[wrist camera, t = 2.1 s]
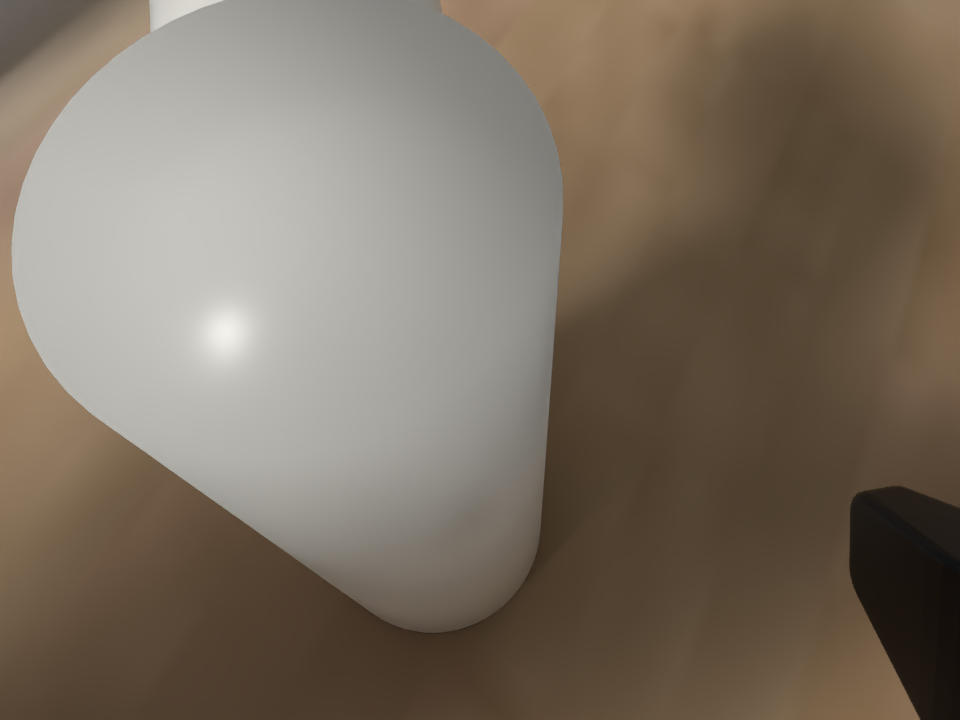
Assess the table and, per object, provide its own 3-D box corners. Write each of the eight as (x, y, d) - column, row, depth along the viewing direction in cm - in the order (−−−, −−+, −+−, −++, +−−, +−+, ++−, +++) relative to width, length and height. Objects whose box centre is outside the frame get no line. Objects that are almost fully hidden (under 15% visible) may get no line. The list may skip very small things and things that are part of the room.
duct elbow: (559, 612, 18) (618, 409, 6) (342, 650, 18) (-1, 517, 6) (495, 286, 21) (457, -266, 9) (308, 319, 21) (29, -197, 9)
